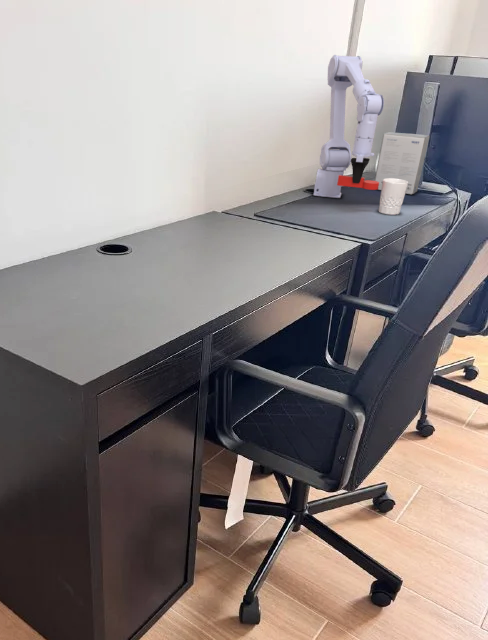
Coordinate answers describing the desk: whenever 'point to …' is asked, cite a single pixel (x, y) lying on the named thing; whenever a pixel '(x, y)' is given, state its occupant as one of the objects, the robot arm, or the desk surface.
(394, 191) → the white cup
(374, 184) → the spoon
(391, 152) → the hard drive box
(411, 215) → the desk surface
